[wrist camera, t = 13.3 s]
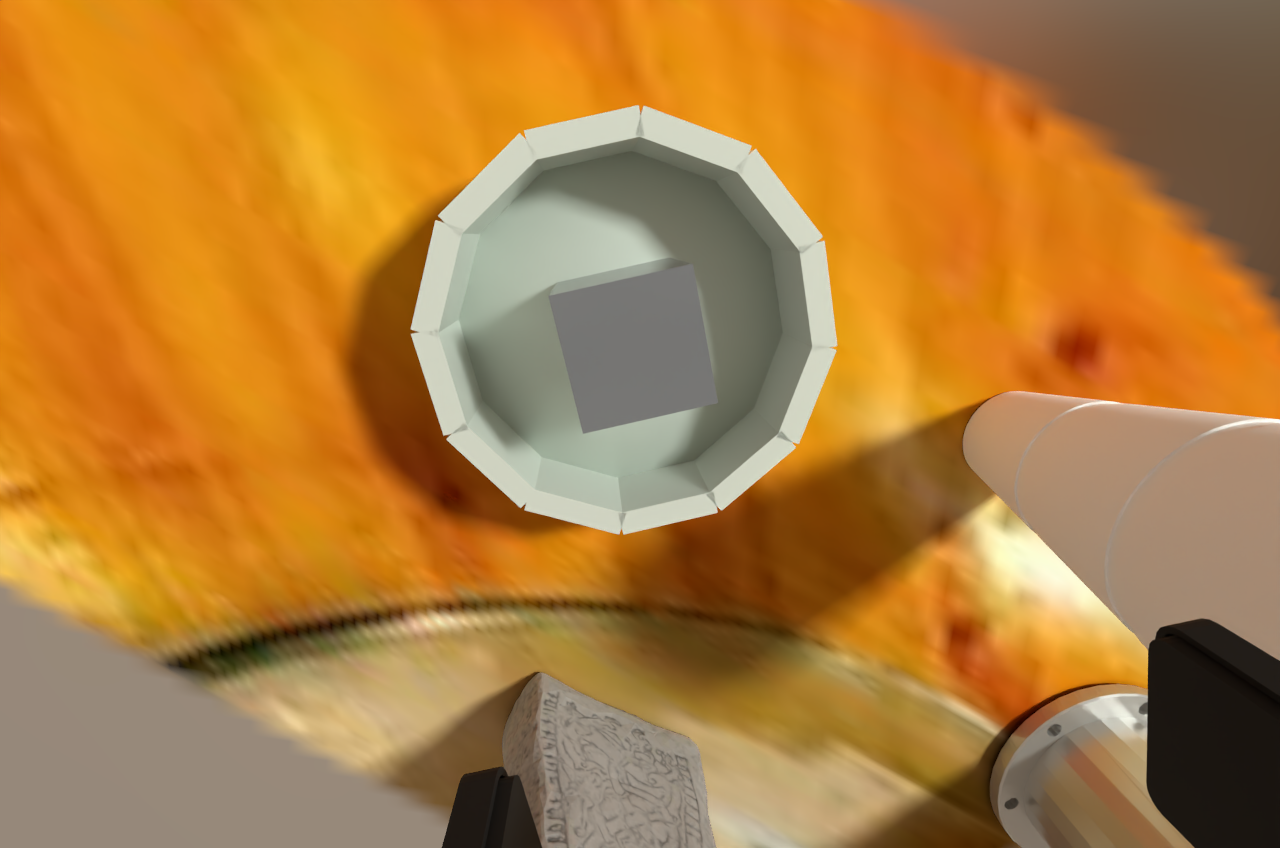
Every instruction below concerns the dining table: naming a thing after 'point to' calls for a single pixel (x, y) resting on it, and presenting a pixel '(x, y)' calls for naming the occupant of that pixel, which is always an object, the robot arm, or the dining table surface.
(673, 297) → the matte grey cube
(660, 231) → the bowl
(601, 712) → the decorative stone
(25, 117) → the dining table surface
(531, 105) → the dining table surface
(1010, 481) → the cup
